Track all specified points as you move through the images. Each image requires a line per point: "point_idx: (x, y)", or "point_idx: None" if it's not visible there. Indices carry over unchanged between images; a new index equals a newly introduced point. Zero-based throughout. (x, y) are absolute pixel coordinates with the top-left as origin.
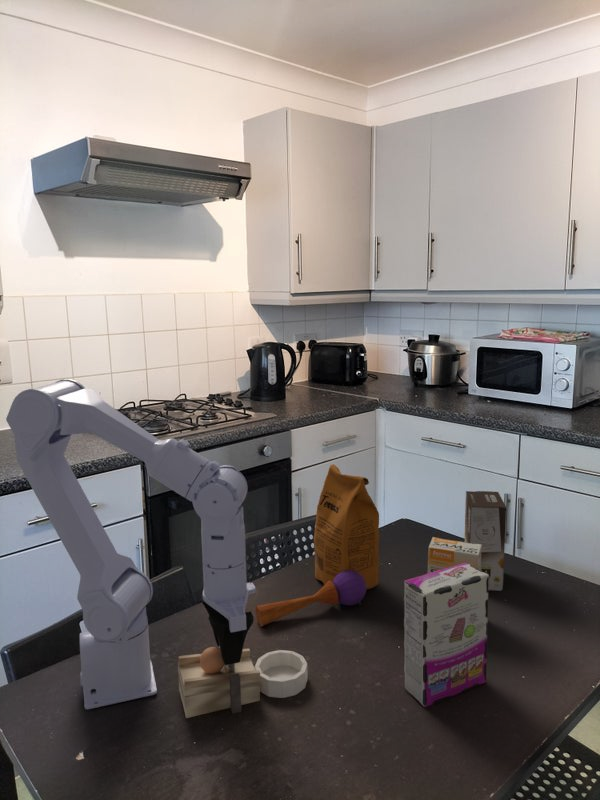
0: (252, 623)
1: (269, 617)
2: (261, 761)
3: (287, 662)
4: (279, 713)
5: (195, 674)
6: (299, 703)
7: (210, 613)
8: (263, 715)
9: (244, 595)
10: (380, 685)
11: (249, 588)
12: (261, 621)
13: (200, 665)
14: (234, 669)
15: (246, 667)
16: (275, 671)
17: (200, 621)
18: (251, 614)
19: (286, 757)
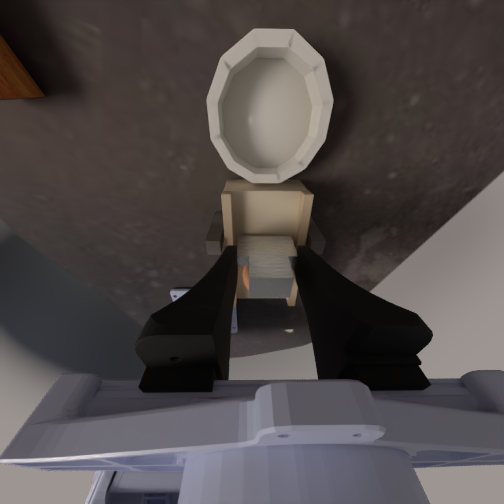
0: (417, 314)
1: (10, 63)
2: (407, 210)
3: (228, 85)
4: (345, 156)
5: None
6: (345, 106)
7: (229, 345)
8: (333, 184)
9: (410, 449)
10: None
11: (354, 442)
12: (34, 96)
13: (242, 273)
14: (292, 242)
15: (265, 206)
16: (240, 126)
17: (50, 221)
18: (398, 329)
19: (430, 177)
